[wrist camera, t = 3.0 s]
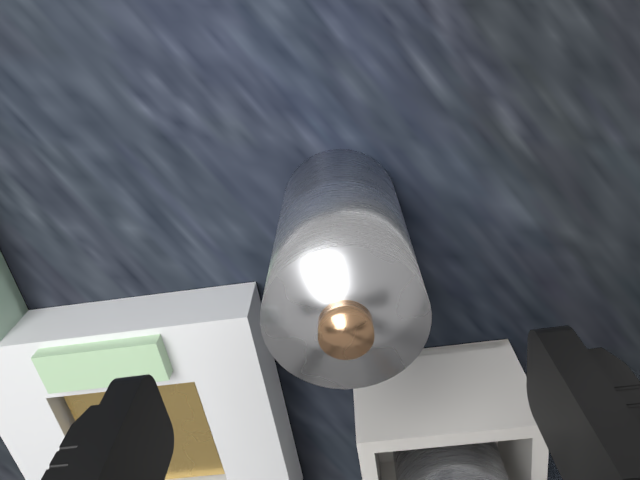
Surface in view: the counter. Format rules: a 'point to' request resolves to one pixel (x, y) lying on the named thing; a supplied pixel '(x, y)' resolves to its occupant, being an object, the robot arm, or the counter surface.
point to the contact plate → (175, 429)
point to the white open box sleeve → (451, 410)
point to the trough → (9, 300)
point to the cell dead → (451, 463)
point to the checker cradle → (150, 373)
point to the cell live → (343, 277)
